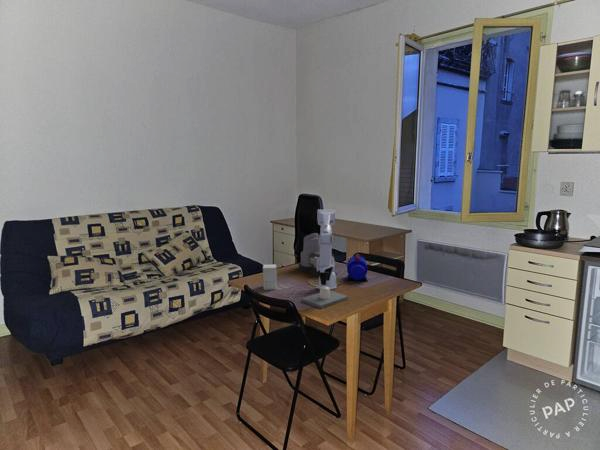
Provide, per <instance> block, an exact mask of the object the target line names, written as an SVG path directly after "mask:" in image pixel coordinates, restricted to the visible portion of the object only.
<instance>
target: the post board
mask: <svg viewBox="0 0 600 450" xmlns="http://www.w3.org/2000/svg"><path fill="white" fill-rule="evenodd" d="M300 299H301V301H300V302H302V303H305V304H308V305H310V306H313V307H315V308H318V309H324V308H326V307H329V306H333V305H336V304H338V303H341V302H344V301H347V300H348V299H349V295H345V294H342V293H339V292H337V291H334V290H332V289H331V290H330V297H329V298H328V299H322V298H320V292H317V293H314V294H311V295H307V296H305V297H301V298H300Z"/></svg>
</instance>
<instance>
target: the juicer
mask: <svg viewBox="0 0 600 450" xmlns="http://www.w3.org/2000/svg"><path fill="white" fill-rule="evenodd" d="M302 249H303V250H302V251H301V252H300V262H299V263H298V266H297V267H296V268H297V269H298V270H299V271H301V272H307V273H310V274H312V275H315V276H317V277H319V275H318V272H317V259H318V257H320V243H319V233H317V232H314V233H310V234H307V235H306V236H304V237H303V248H302ZM331 256H332V257H333V258H334V259H335V256H334V254H333V253H331ZM334 273H335V274H336V276H337V275H338V273H337V272H336V271H334Z"/></svg>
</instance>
